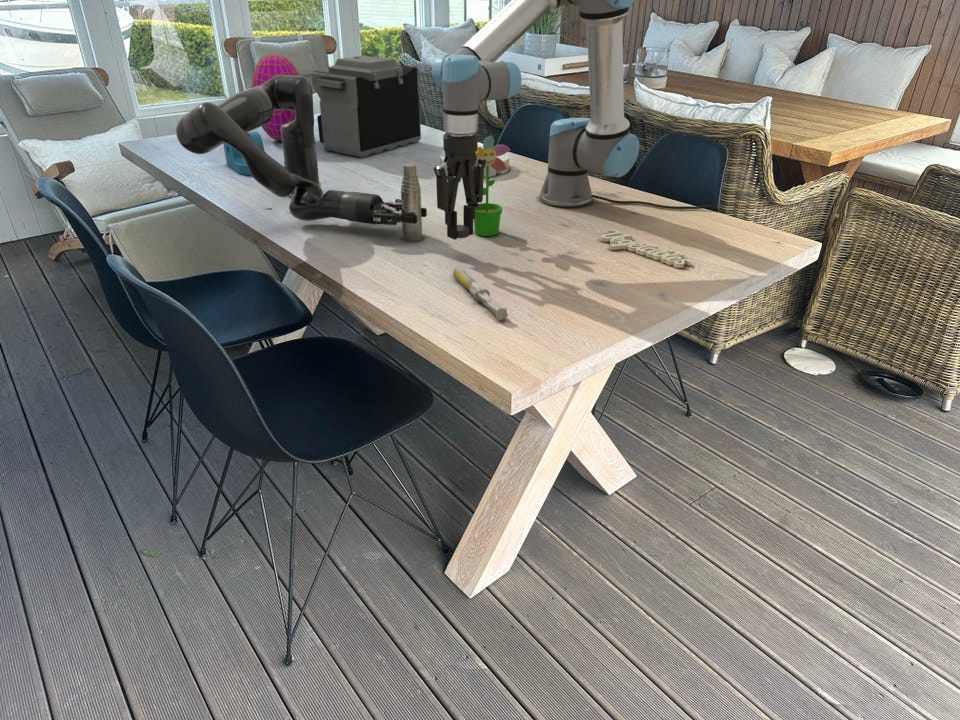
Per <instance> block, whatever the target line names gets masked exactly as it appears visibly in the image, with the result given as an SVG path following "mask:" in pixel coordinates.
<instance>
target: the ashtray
mask: <svg viewBox="0 0 960 720" xmlns="http://www.w3.org/2000/svg"><path fill="white" fill-rule="evenodd" d="M482 148H483V147H482ZM483 149H484V148H483ZM439 156H440V157H439V159H440V164H439V165H441V164H443V163H444V158H445V152H444V151H443V152H442V153H441V154H440V155H439ZM498 158H499V159H501V160H502V161H503V162H504V164H505V165H506V167H507V170H503V171H498V170H495V169H494V168H492V167H491V165H489V178H490V177H496V175H503V174H505V173H507V172H509V169H510V156H509V154H508V153H505V154H503V155H501V156H498ZM447 172H448V170H447ZM484 178H486V166H485V168H484Z"/></svg>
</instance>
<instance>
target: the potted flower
mask: <svg viewBox="0 0 960 720" xmlns="http://www.w3.org/2000/svg"><path fill="white" fill-rule="evenodd" d="M494 144H495V139H494V136H493V135H489V136H487V137H486V138H484V140H483V143H482V146H478V149H477V151H476V155H477V157H479V158H482V159H485V160H486V165H485V166H486V177H485V187H483V196H485V202H481V203H480V202H479V203H478V204H479V206H478V207H477V208H476V207H475V219H473V230H474V233H475V234H476V235H477V236H481V237H491V236H495V235H497V234H499V230H500V224H501V223H500V222H501V215H502V214H503V207H502V206H501V205H500V204H497V203H493V202H489V191H490V190H489V188H490V187H492V186H493V185H494V184H495V183H496V180H495V179H490V177H489V165H491V167H492V168H494V169H495V170H498V171H503V170H507V167H506V165H505V164H504V162H503V161H502V160H501V159H499V158H498V156H501V155H503V154H505V153H506V154H508V152H510V151H511V148H510V147H508V146H507V145H505V144H502V143H501V144H496V145H494ZM483 148H484V149H483Z"/></svg>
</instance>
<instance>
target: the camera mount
mask: <svg viewBox="0 0 960 720" xmlns="http://www.w3.org/2000/svg"><path fill="white" fill-rule="evenodd" d="M247 134H248V135H249V136H250V137H251V138H252V139H253V140H254V141H255V142H256V143H257V145H258V146H259V147H260V148H261V149H262V150H263V151H265V145H264V141H263V139H262V136H261V134H260V132H258V131H249V132H247ZM222 145H223V149H224V150H223V151H224V156H225V161H226V165H227V166H228V167H230V168H231V169H232V170H234V171H236V172H237V173H238V174H239V175H244V176H252V175H251V173H250V172H249V170H248V167H247V165H246V163H245V160H244V158H243V157H242V155H241V154H240V152H239V151H238V150H236V149H235V148H234V147H232V146H231V145H229V144H227V143H223V144H222Z"/></svg>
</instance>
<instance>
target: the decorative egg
mask: <svg viewBox="0 0 960 720" xmlns="http://www.w3.org/2000/svg"><path fill="white" fill-rule="evenodd" d="M253 70H254V71H253V73H252V77H251V88H253V87H256V86H260V85H262V84H263V83H265V82H266V81H268V80H269V79H271V78H273V77H275V76H277V75H295V76H301V75H300V73H299V71H298V69H297V67H296V66H295V65H294V63H293V62H292V61H291V60H290V59H288V58H287V57H285V56H282V55H280V54H268V55H265V56H262V57H261V58H260V59H259V60H258V61H257V62H256V65H255V68H254V69H253ZM294 119H295V111H291V110H274V111H273V115H272V118H271V119H270V121H269V122H268V123H266V124H265V125H263V126H261V127H260V128H262V130H263V131H264V133H266V135H267V136H268V137H270V138H271V139H273V140H275V141H281V142H282V137H281V129H280V128H281V126H282V125H283V124H285V123H288V122H291V121H293V120H294Z"/></svg>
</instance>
